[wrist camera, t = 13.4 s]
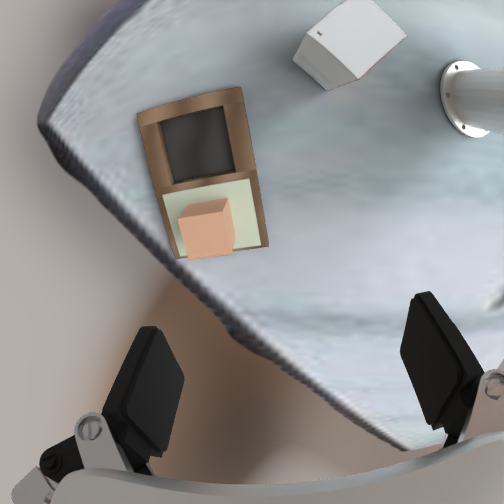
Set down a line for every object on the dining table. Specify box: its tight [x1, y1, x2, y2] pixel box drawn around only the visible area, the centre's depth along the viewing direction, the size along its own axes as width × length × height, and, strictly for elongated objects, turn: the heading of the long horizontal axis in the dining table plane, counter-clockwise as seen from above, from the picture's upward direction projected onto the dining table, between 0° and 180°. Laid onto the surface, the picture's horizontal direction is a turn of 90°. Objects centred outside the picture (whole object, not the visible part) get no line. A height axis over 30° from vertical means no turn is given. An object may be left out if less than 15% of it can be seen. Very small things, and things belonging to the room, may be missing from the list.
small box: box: [292, 0, 407, 91], centre depth 23 cm, size 8×6×13 cm
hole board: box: [137, 87, 269, 259], centre depth 37 cm, size 14×22×2 cm, turn 10°
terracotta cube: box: [177, 198, 236, 260], centre depth 36 cm, size 6×6×6 cm
